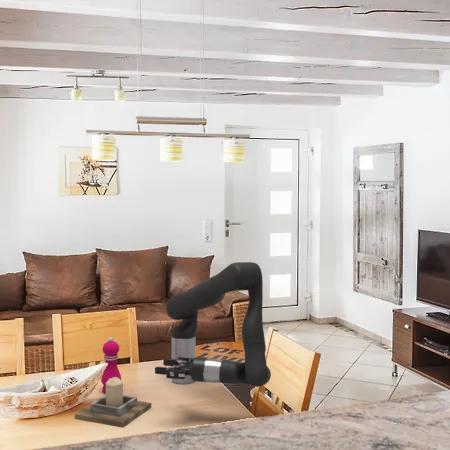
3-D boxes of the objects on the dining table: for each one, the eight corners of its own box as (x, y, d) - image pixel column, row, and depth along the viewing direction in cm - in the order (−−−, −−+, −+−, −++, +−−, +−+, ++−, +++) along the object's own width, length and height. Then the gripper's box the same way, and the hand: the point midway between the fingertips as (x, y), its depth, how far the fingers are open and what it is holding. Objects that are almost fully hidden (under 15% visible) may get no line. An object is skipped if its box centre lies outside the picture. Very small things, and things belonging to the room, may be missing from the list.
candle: (119, 411, 190) (119, 381, 189) (103, 410, 191) (103, 380, 190) (125, 405, 195) (125, 376, 195) (109, 404, 196) (109, 375, 196)
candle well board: (106, 399, 205) (105, 388, 205) (151, 407, 198) (151, 395, 198) (74, 418, 188) (74, 406, 188) (123, 427, 182) (123, 414, 181)
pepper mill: (97, 393, 211) (96, 338, 210) (108, 386, 218) (108, 333, 217) (114, 395, 209) (113, 340, 207) (125, 389, 215) (124, 335, 214)
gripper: (213, 352, 194) (166, 348, 197) (202, 365, 180) (152, 361, 184) (212, 374, 195) (166, 370, 198) (202, 389, 181) (152, 384, 184)
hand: (159, 366), depth 191 cm, fingers open, 8 cm apart
